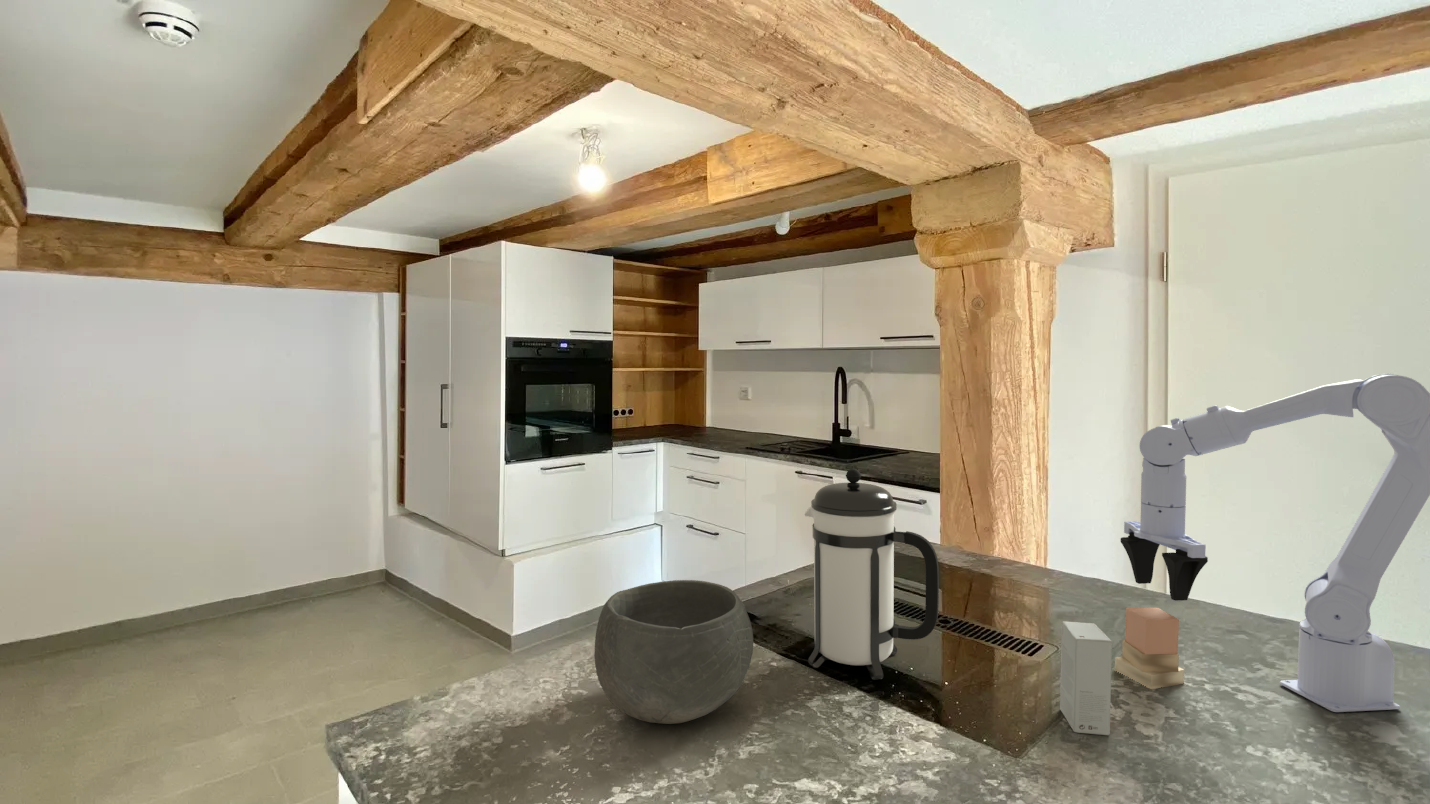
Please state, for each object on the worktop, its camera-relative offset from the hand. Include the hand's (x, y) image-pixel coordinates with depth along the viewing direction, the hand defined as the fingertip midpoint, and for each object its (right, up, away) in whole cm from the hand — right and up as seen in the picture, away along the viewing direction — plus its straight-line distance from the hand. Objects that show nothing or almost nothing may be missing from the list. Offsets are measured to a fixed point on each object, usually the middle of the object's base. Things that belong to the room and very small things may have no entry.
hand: (1160, 591), depth 103 cm
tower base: (-6, -11, -6) cm, 14 cm away
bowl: (-74, -12, -13) cm, 76 cm away
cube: (-6, -6, -6) cm, 11 cm away
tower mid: (-6, -9, -6) cm, 12 cm away
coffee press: (-46, -11, +1) cm, 47 cm away
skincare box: (-22, -12, -18) cm, 31 cm away
